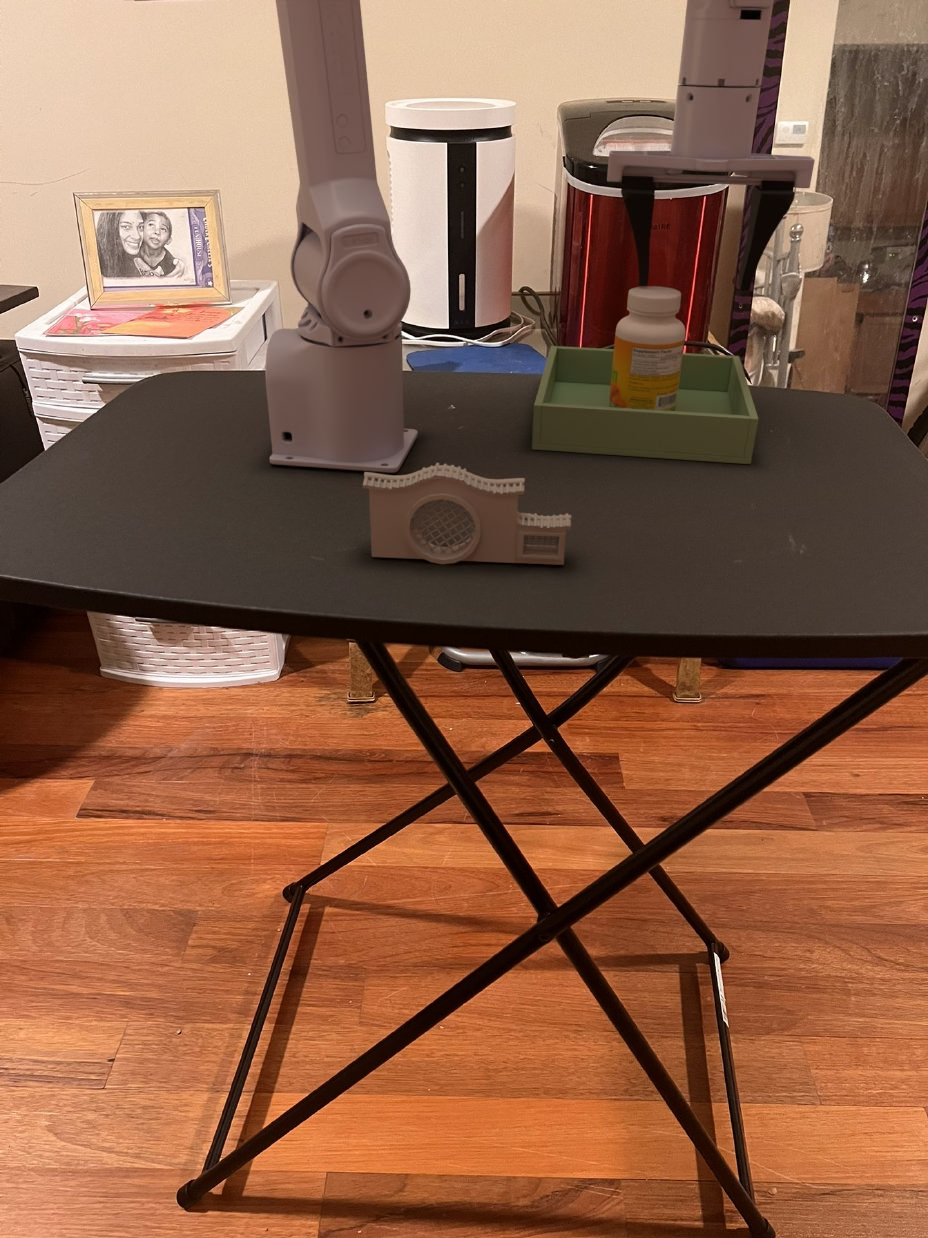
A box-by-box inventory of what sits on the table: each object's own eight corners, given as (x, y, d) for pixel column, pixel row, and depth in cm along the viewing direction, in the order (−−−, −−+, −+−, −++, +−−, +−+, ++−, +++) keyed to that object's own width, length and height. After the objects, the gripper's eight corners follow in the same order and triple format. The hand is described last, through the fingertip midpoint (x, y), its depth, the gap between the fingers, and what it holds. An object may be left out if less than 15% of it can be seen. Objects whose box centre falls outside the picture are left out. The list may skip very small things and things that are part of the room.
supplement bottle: (610, 401, 82) (621, 281, 77) (675, 405, 81) (690, 285, 76) (605, 422, 77) (617, 297, 72) (674, 427, 77) (690, 301, 72)
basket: (531, 449, 74) (533, 404, 72) (548, 384, 87) (551, 345, 85) (750, 464, 72) (758, 418, 70) (733, 395, 85) (739, 355, 83)
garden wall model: (567, 556, 59) (574, 464, 56) (568, 570, 57) (575, 476, 54) (370, 548, 59) (366, 456, 56) (365, 561, 58) (361, 468, 55)
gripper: (613, 85, 66) (597, 292, 73) (835, 90, 64) (796, 301, 71) (615, 81, 72) (600, 272, 79) (818, 85, 70) (784, 281, 77)
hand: (692, 285), depth 75 cm, fingers open, 7 cm apart
